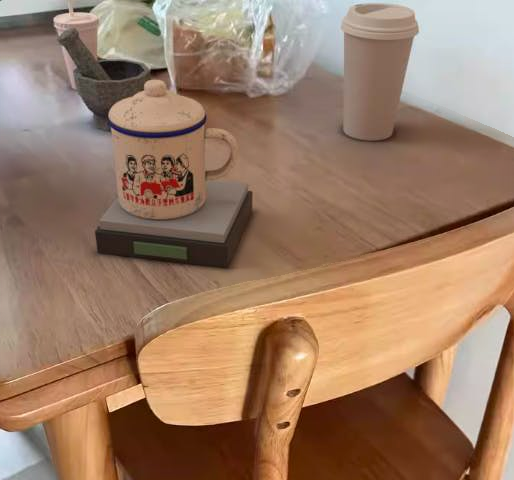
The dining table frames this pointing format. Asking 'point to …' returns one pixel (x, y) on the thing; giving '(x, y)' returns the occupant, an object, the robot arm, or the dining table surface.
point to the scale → (181, 229)
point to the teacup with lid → (163, 153)
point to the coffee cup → (375, 66)
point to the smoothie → (87, 33)
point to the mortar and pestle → (102, 78)
